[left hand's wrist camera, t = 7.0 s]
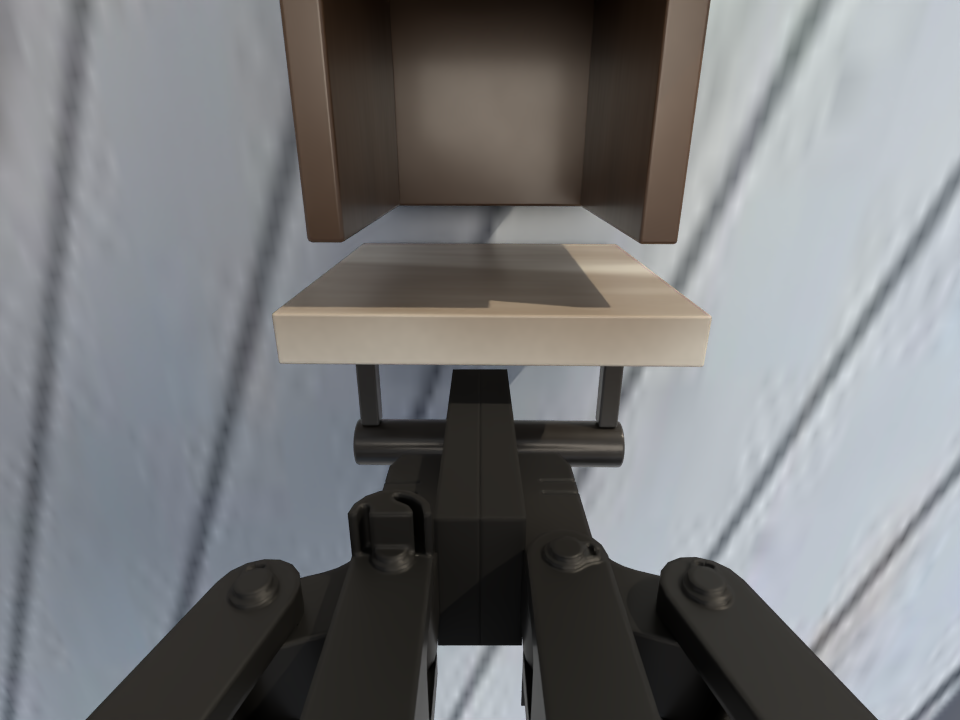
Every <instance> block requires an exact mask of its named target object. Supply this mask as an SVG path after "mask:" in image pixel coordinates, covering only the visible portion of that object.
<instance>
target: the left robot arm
mask: <svg viewBox="0 0 960 720" xmlns="http://www.w3.org/2000/svg"><path fill="white" fill-rule="evenodd" d="M348 520H349V530H350V540H351V549H352V558H351V561H350V562H348V563H346V564H344V565H342V566H340V567H338V568H336V569H333V570H330V571H327V572H323V573H319V574H315V575H311V576H307V577H303V578H300V574H299V572H298V571H297V570H296V568H295V567H294V566H293V565H292V564H290V563H287V562H284V561H282V560H270V559H264V560H259V561H255V562H250V563H247V564H245V565H242V566H240V567H238V568H236V569H234V570H232V571H230V572H229V573H228V574H226V575H225V576H224V577H223V578H221V579H220V580H219V581H218V582H217V583H216V584H215V585H214V586H213V587H212V588H211V589H210V590H209V591H208V592H207V593H206V594H205V595H204V596H203V597H202V598H201V599H200V600H199V601H198V602H197V604H196V605H195V606H194V607H193V608H192V609H191V610H190V611H189V612H188V613H187V614H186V615H185V616H184V617H183V618H182V619H181V620H180V621H179V622H178V623H177V624H176V626H175V627H174V628H173V629H172V630H171V631H170V632H169V633H168V634H167V635H166V636H165V637H164V638H163V639H162V640H161V641H160V642H159V643H158V644H157V645H156V646H155V648H154V649H153V650H152V651H151V652H150V653H149V654H148V655H147V656H146V657H145V658H144V659H143V660H142V661H141V662H140V663H139V664H138V665H137V666H136V667H135V669H134V670H133V671H132V672H131V673H130V674H129V675H128V676H127V677H126V678H125V679H124V680H123V681H122V682H121V683H120V684H119V685H118V686H117V687H116V688H115V689H114V691H113V692H112V693H111V694H110V695H109V696H108V697H107V698H106V699H105V700H104V701H103V702H102V703H101V704H100V705H99V706H98V707H97V708H96V709H95V710H94V712H93V713H92V714H91V715H90V716H89V717H88V718H87V719H86V720H434V712H435V699H436V687H437V674H438V673H437V643H438V645H522V640H523V673H522V699H521V706H525V711H526V720H878V719H877V718H876V717H875V716H874V715H873V714H872V713H871V712H870V711H869V710H868V709H867V708H866V707H865V706H864V705H863V704H862V703H861V702H860V701H859V700H858V698H857V697H856V696H855V695H854V694H853V693H852V692H851V691H850V690H849V689H848V688H847V687H846V686H845V685H844V684H843V683H842V682H841V681H840V680H839V679H838V678H837V677H836V676H835V675H834V673H833V672H832V671H831V670H830V669H829V668H828V667H827V666H826V665H825V664H824V663H823V662H822V661H821V660H820V659H819V658H818V657H817V656H816V655H815V654H814V653H813V652H812V651H811V650H810V648H809V647H808V646H807V645H806V644H805V643H804V642H803V641H802V640H801V639H800V638H799V637H798V636H797V635H796V634H795V633H794V632H793V631H792V630H791V629H790V628H789V627H788V626H787V625H786V623H785V622H784V621H783V620H782V619H781V618H780V617H779V616H778V615H777V614H776V613H775V612H774V611H773V610H772V609H771V608H770V607H769V606H768V605H767V604H766V603H765V602H764V601H763V600H762V598H761V597H760V596H759V595H758V594H757V593H756V592H755V591H754V590H753V589H752V588H751V587H750V586H749V585H748V584H747V583H746V582H745V581H744V580H743V579H742V578H741V577H739V576H738V575H737V574H736V573H734V572H733V571H732V570H731V569H729V568H727V567H725V566H723V565H721V564H718V563H716V562H714V561H711V560H706V559H702V558H698V557H683V558H678V559H675V560H673V561H670V562H668V563H667V564H666V565H665V567H664V568H663V569H662V570H661V574H660V576H658V575H654V574H650V573H645V572H641V571H637V570H634V569H630V568H627V567H624V566H622V565H620V564H618V563H616V562H614V561H612V560H611V559H609V557H608V555H607V553H606V551H605V550H604V548H603V546H602V545H601V544H600V543H599V542H597V541H596V540H595V539H593V538H592V535H591V532H590V529H589V525H588V522H587V519H586V515H585V512H584V509H583V505H582V502H581V499H580V495H579V494H578V489H577V485H576V482H575V479H574V475H573V472H572V469H571V465H570V464H569V463H568V462H567V461H566V460H565V459H564V458H563V457H562V456H561V455H560V454H559V453H518V450H517V442H516V435H515V427H514V419H513V412H512V404H511V396H510V389H509V381H508V373H507V369H453V373H452V381H451V389H450V396H449V404H448V412H447V419H446V427H445V435H444V442H443V450H442V454H402V455H401V456H400V457H399V458H398V459H397V460H396V461H395V462H394V463H393V464H392V465H391V466H390V467H389V471H388V474H387V477H386V483H385V484H384V488H383V491H379V492H376V493H373V494H371V495H368V496H365V497H364V498H362V499H361V500H360V501H358V502H357V503H355V504H354V505H353V507H352V508H351V510H350V511H349V513H348Z"/></svg>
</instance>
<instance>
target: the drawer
mask: <svg viewBox="0 0 960 720" xmlns="http://www.w3.org/2000/svg"><path fill="white" fill-rule="evenodd" d="M710 1H711V0H280V9H281V17H282V26H283V34H284V43H285V51H286V60H287V68H288V77H289V85H290V94H291V102H292V111H293V119H294V128H295V136H296V145H297V153H298V162H299V170H300V179H301V187H302V196H303V204H304V213H305V221H306V230H307V238H308V240H309V241H311V242H343V241H345V240H346V239H348V238H350V237H351V236H353V235H354V234H356V233H357V232H359V231H360V230H362V229H363V228H365V227H367V226H368V225H370V224H371V223H373V222H374V221H376V220H377V219H379V218H380V217H382V216H384V215H385V214H387V213H388V212H390V211H391V210H393V209H394V208H396V207H397V206H582V207H583V208H585V209H586V210H588V211H590V212H591V213H593V214H594V215H596V216H598V217H599V218H601V219H602V220H604V221H605V222H607V223H609V224H610V225H612V226H613V227H615V228H617V229H618V230H620V231H621V232H623V233H625V234H626V235H628V236H629V237H631V238H632V239H634V240H636V241H637V242H639V243H641V244H675V243H676V242H677V238H678V231H679V224H680V217H681V209H682V202H683V195H684V188H685V181H686V173H687V166H688V159H689V152H690V145H691V137H692V130H693V123H694V116H695V109H696V101H697V94H698V87H699V80H700V73H701V65H702V58H703V51H704V44H705V37H706V29H707V22H708V15H709V8H710ZM272 318H273V325H274V332H275V338H276V345H277V352H278V358H279V363H281V364H356V372H357V383H358V394H359V405H360V416H361V419H360V420H359V421H358V422H357V425H356V428H355V433H354V457H355V461H356V463H357V464H359V465H392V464H393V463H394V462H395V461H396V460H397V459H398V458H399V457H400V456H401V455H402V454H442V450H443V442H444V435H445V427H446V420H430V419H382V405H381V391H380V378H379V365H378V364H388V365H525V366H600V377H599V388H598V398H597V409H596V421H546V420H514V427H515V435H516V442H517V450H518V453H559V454H560V455H561V456H562V457H563V458H564V459H565V460H566V461H567V462H568V463H569V464H570V465H571V467H620V466H621V465H622V463H623V459H624V451H625V443H624V434H623V429H622V426H621V424H620V422H618V413H619V404H620V395H621V386H622V377H623V368H624V366H662V367H702V366H703V365H704V360H705V354H706V348H707V342H708V337H709V331H710V325H711V319H712V318H711V316H710V315H709V314H708V313H706V312H705V311H704V310H702V309H701V308H700V307H698V306H697V305H696V304H694V303H693V302H692V301H690V300H689V299H688V298H686V297H685V296H684V295H682V294H681V293H680V292H678V291H677V290H676V289H674V288H673V287H672V286H670V285H669V284H668V283H667V282H665V281H664V280H663V279H661V278H660V277H659V276H657V275H656V274H655V273H653V272H652V271H651V270H649V269H648V268H647V267H645V266H644V265H643V264H641V263H640V262H639V261H637V260H636V259H635V258H633V257H632V256H631V255H629V254H628V253H627V252H626V251H624V250H623V249H622V248H620V247H619V246H618V245H616V244H431V243H364V244H362V245H361V246H360V247H359V248H357V249H356V250H355V251H353V252H352V253H351V254H349V255H348V256H347V257H346V258H344V259H343V260H342V261H340V262H339V263H338V264H336V265H335V266H334V267H333V268H331V269H330V270H329V271H327V272H326V273H325V274H323V275H322V276H321V277H320V278H318V279H317V280H316V281H314V282H313V283H312V284H310V285H309V286H308V287H307V288H305V289H304V290H303V291H301V292H300V293H299V294H297V295H296V296H295V297H293V298H292V299H291V300H290V301H288V302H287V303H286V304H284V305H283V306H282V307H280V308H279V309H278V310H277V311H275V312H274V313H273V314H272Z"/></svg>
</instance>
